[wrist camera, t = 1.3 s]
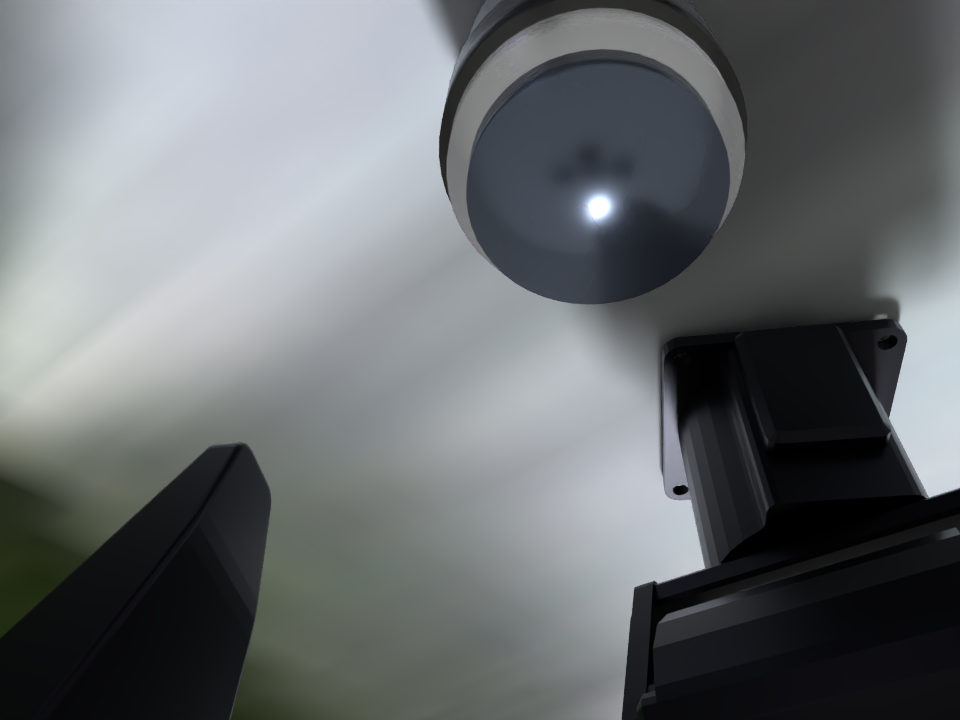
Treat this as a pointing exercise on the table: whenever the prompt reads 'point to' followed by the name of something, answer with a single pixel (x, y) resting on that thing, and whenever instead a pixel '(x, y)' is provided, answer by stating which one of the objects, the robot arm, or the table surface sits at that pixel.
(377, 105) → the table surface
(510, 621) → the table surface
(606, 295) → the lens
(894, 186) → the table surface
